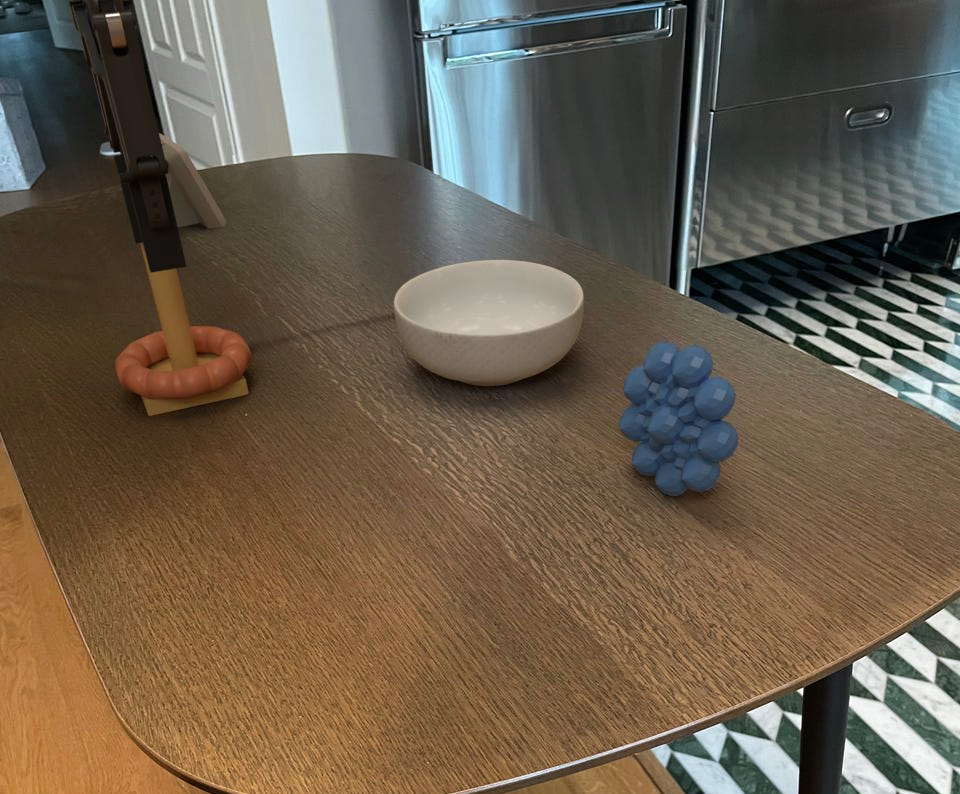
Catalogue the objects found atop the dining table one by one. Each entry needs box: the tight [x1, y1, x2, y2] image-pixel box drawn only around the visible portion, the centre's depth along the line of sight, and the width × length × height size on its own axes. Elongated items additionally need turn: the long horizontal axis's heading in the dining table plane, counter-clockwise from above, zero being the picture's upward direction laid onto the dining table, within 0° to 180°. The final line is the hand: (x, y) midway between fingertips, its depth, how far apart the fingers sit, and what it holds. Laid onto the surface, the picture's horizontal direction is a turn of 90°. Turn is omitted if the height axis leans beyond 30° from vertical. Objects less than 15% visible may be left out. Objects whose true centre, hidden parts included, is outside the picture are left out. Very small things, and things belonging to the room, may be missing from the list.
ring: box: [113, 325, 253, 399], centre depth 90 cm, size 12×12×2 cm
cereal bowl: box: [393, 259, 585, 387], centre depth 90 cm, size 17×17×7 cm
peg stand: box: [139, 243, 250, 417], centre depth 88 cm, size 9×9×14 cm
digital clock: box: [150, 132, 228, 230], centre depth 126 cm, size 16×9×11 cm, turn 20°
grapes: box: [618, 340, 739, 497], centre depth 71 cm, size 12×7×12 cm, turn 31°
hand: (159, 252), depth 80 cm, fingers open, 7 cm apart
